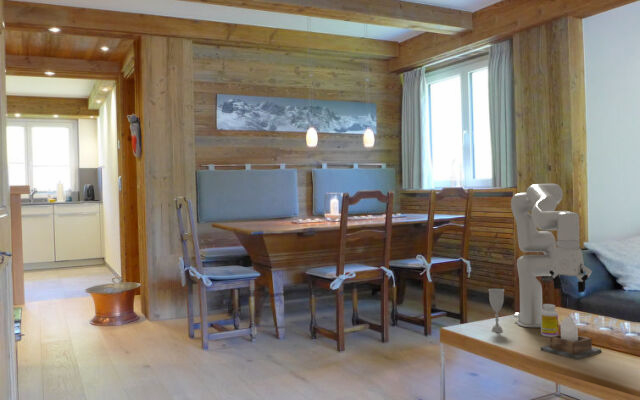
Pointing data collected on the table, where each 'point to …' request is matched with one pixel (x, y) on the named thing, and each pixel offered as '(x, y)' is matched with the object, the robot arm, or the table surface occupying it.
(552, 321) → the supplement bottle
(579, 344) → the brown wooden open box
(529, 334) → the table surface
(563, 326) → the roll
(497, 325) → the chalice
